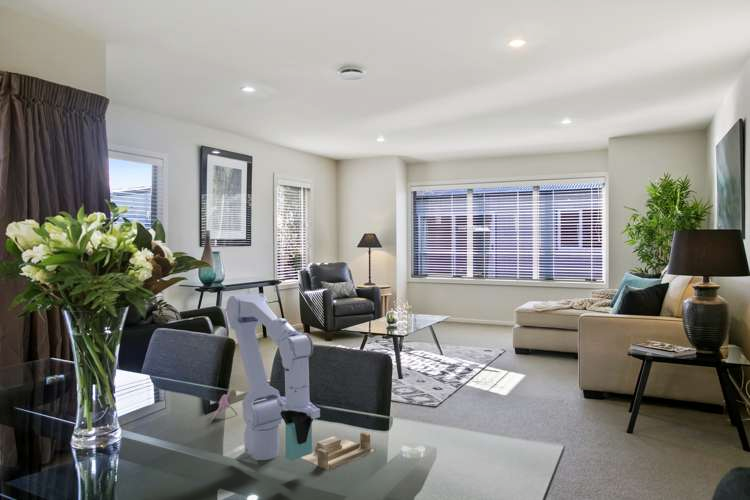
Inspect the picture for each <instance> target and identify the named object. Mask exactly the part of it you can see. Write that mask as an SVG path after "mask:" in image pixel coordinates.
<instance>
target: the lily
mask: <svg viewBox="0 0 750 500" xmlns="http://www.w3.org/2000/svg"><path fill="white" fill-rule="evenodd" d="M232 390H233V387H231V388H230V389H229V391H228V392H227V394H223V395H222V396H221V398H220V399H219V401H218V402H217V403H218V407H217V410H216V412H214V414H213V416H212V419H211V420H210V422H213V419H214V418H215V417H216V415H217V413H219V412H220V411H223V410H225V409H228V408H230V409H231V410H232V411H233V412H234V414H235V415H236V416H238V414H237V412H236V411H235V409H234V408H233V407H232V406H231V403H230V394H231V392H232Z"/></svg>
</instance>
